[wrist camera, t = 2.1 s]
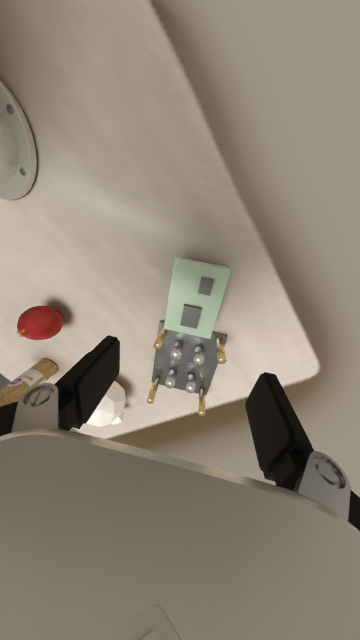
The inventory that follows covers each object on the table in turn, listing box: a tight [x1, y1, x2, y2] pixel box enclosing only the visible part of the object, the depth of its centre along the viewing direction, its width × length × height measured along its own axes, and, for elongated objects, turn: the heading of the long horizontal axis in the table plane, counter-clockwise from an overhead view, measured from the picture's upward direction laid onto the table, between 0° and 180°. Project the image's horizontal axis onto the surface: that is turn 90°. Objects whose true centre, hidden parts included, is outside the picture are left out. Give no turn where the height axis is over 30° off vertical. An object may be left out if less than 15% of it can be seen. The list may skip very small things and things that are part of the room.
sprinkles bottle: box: [0, 359, 57, 407], centre depth 33 cm, size 5×5×14 cm
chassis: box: [147, 321, 227, 416], centre depth 30 cm, size 15×12×6 cm
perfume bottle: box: [87, 381, 126, 427], centre depth 36 cm, size 9×9×12 cm
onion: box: [17, 306, 63, 340], centre depth 29 cm, size 6×6×8 cm
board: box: [164, 257, 231, 339], centre depth 23 cm, size 10×7×3 cm
